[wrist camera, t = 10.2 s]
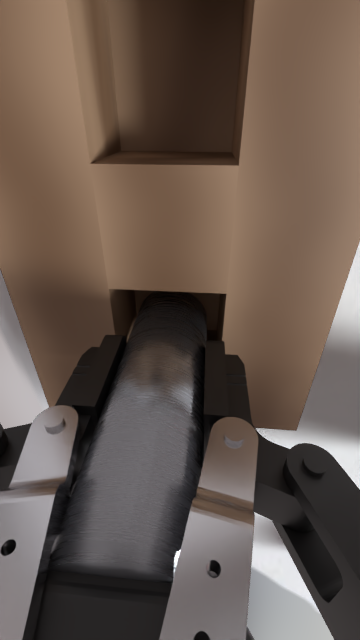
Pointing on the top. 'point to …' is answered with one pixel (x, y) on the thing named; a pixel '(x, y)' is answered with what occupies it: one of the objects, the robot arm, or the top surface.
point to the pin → (142, 451)
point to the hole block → (181, 176)
